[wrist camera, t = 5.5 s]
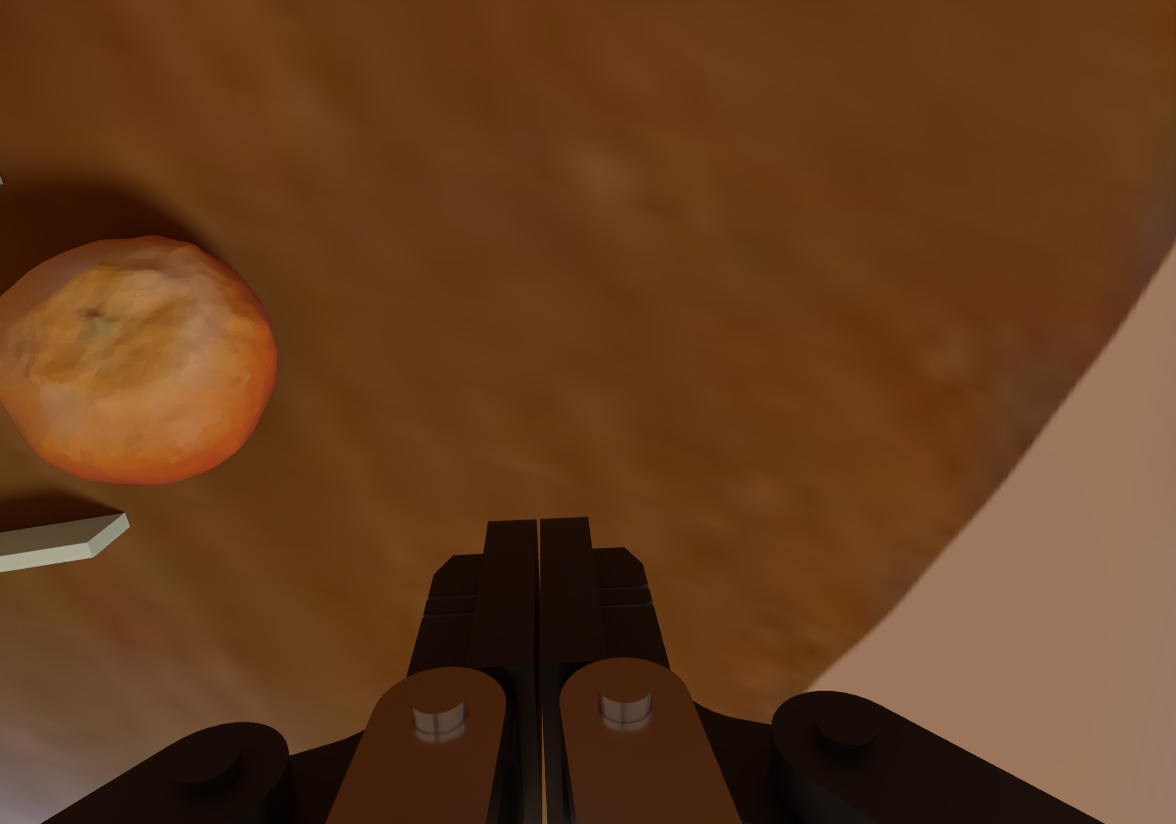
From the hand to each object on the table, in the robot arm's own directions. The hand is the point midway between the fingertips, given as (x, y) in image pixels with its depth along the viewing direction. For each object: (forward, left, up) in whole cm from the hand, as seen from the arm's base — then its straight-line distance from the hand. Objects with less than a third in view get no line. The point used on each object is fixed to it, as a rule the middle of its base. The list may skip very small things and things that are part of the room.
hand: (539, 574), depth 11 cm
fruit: (-2, -12, -18) cm, 22 cm away
